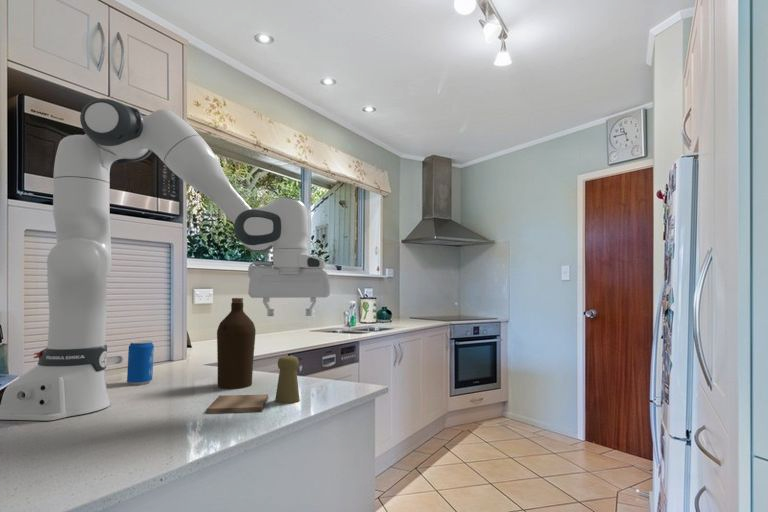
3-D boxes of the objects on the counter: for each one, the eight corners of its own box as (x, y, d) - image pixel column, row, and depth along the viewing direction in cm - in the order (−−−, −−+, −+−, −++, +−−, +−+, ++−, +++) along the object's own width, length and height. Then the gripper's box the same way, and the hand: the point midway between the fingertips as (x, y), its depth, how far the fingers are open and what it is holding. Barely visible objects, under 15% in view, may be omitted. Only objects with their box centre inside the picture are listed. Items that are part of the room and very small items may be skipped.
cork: (293, 404, 106) (294, 358, 107) (270, 403, 107) (271, 357, 108) (303, 398, 112) (304, 354, 113) (281, 397, 113) (282, 353, 114)
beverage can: (144, 385, 125) (146, 343, 126) (121, 385, 125) (124, 342, 126) (156, 380, 131) (158, 340, 132) (135, 380, 132) (137, 340, 132)
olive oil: (251, 389, 122) (254, 298, 124) (211, 390, 120) (214, 298, 122) (256, 380, 132) (258, 297, 134) (219, 381, 131) (222, 297, 132)
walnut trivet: (206, 413, 98) (207, 408, 98) (219, 399, 110) (219, 395, 110) (261, 411, 100) (262, 407, 100) (268, 398, 112) (268, 394, 112)
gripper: (246, 260, 107) (245, 317, 106) (330, 260, 110) (329, 316, 109) (250, 261, 114) (249, 315, 113) (329, 262, 116) (329, 314, 116)
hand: (289, 315), depth 111 cm, fingers open, 8 cm apart
